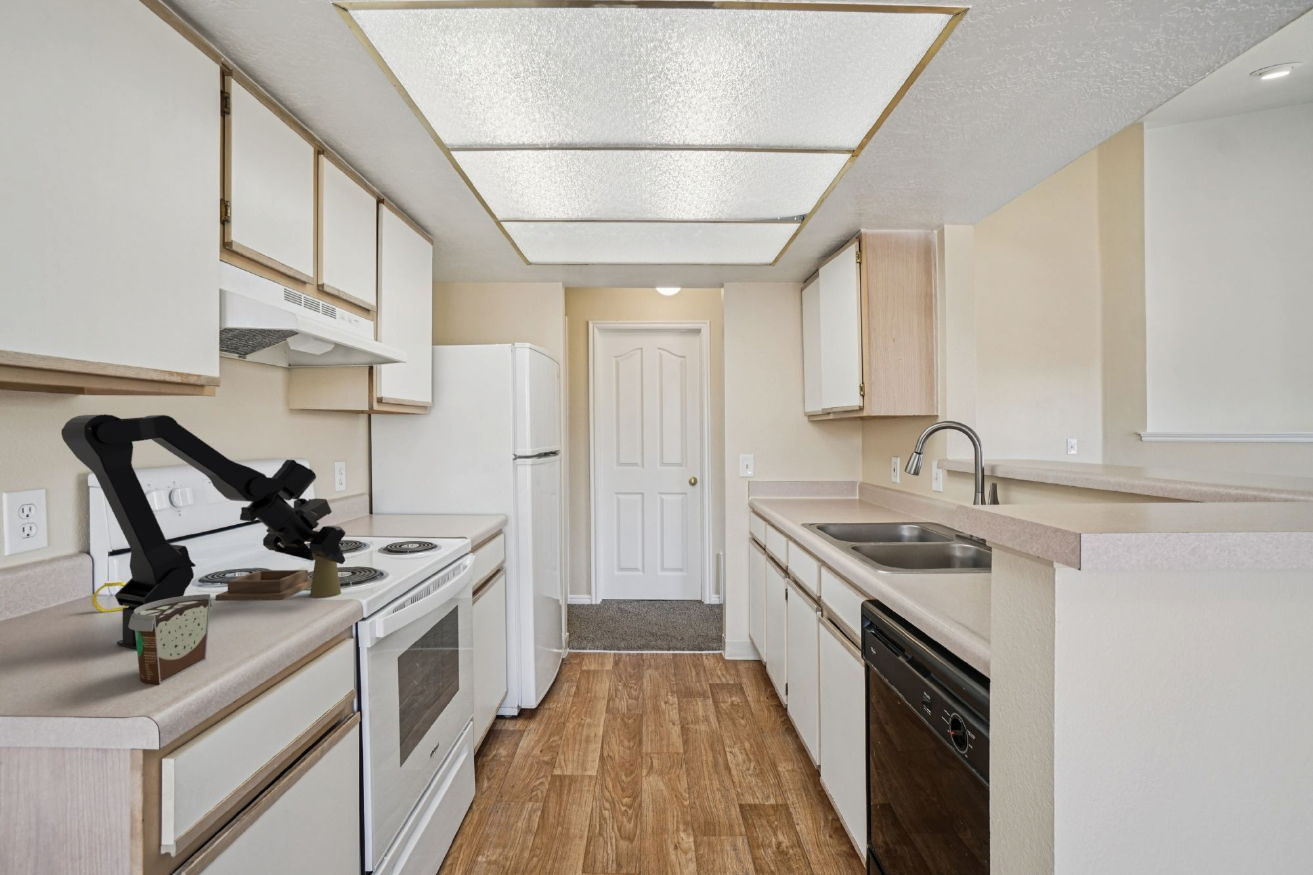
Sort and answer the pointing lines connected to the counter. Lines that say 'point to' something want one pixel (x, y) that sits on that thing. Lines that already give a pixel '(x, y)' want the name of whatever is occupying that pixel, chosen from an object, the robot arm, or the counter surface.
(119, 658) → the counter surface
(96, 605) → the watch
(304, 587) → the stand
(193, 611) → the food container
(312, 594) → the cork
